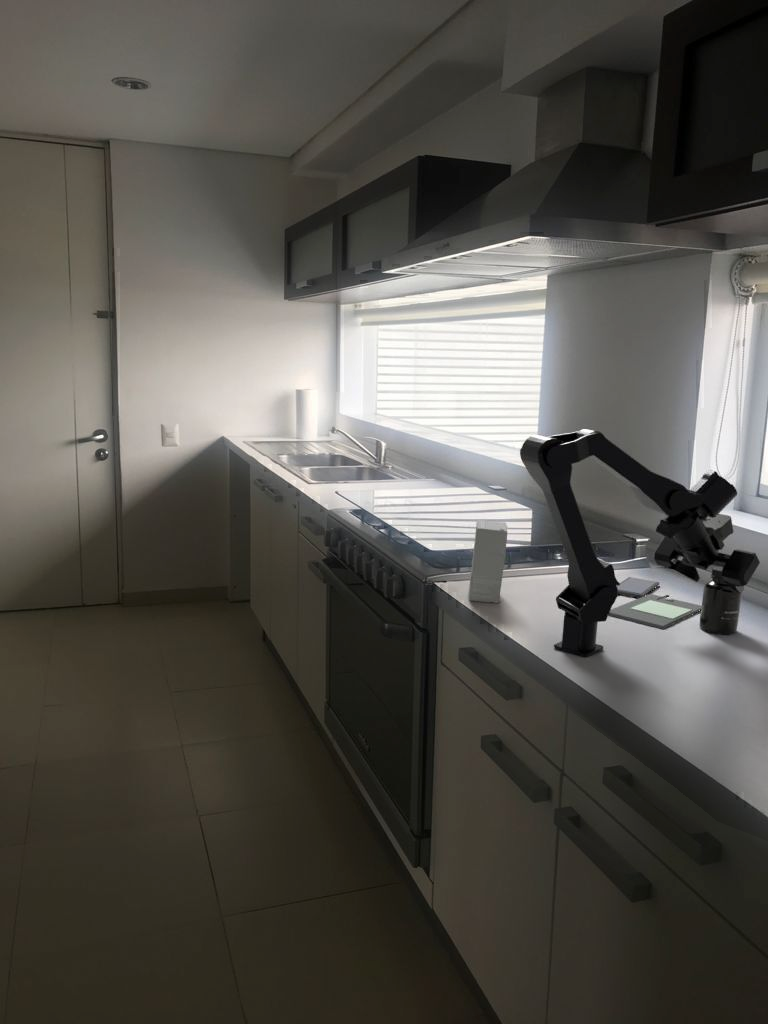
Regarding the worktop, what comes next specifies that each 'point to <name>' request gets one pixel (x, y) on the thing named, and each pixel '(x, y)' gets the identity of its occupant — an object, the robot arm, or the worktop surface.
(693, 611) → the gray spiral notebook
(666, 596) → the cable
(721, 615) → the supplement bottle
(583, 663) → the worktop surface
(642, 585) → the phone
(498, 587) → the skincare box
